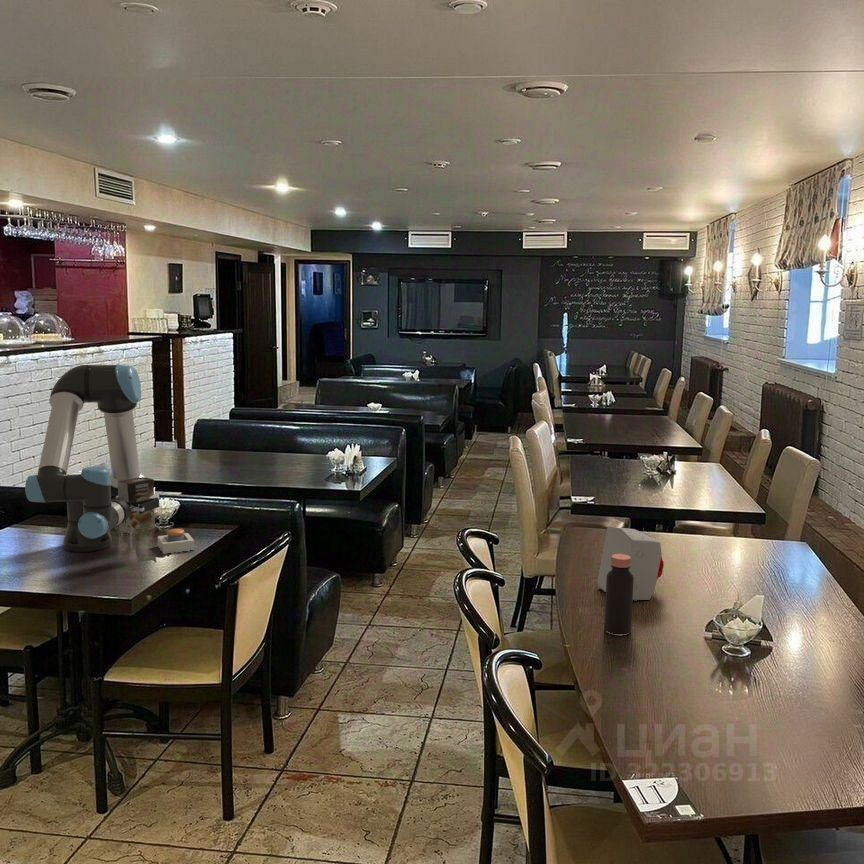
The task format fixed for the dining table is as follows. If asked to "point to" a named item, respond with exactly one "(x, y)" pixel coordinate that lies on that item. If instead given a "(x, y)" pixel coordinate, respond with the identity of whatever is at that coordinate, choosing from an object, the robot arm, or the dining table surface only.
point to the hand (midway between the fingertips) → (141, 496)
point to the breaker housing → (175, 544)
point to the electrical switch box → (633, 559)
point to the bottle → (619, 595)
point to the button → (175, 535)
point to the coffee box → (137, 492)
